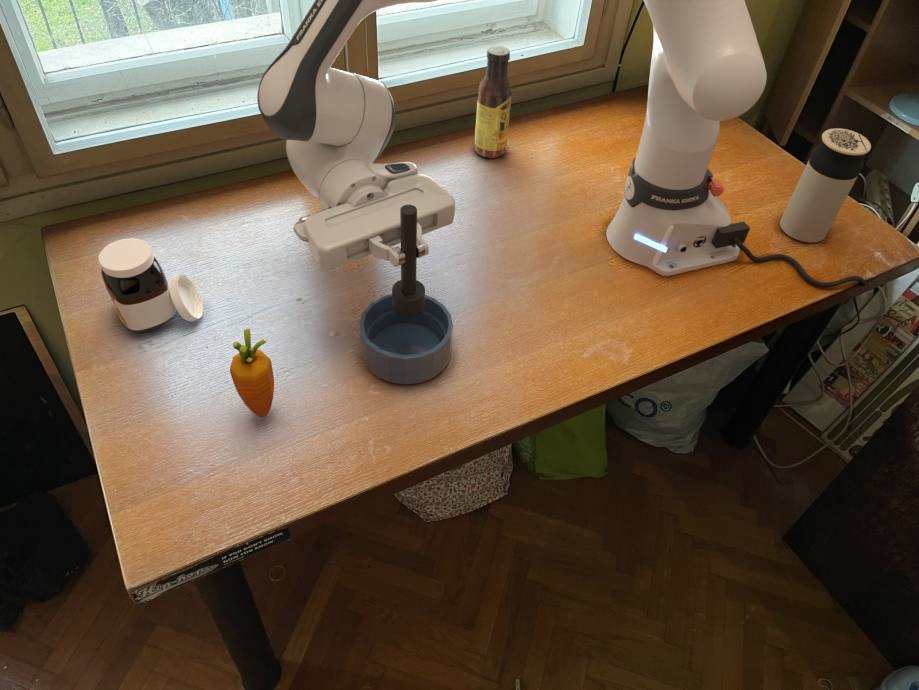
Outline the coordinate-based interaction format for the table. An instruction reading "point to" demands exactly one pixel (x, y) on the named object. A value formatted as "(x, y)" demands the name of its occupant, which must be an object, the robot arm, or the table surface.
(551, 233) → the table surface
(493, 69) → the sauce bottle
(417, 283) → the black rod with base
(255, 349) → the carrot
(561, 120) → the table surface
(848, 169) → the travel mug
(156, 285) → the spread jar
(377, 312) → the bowl
